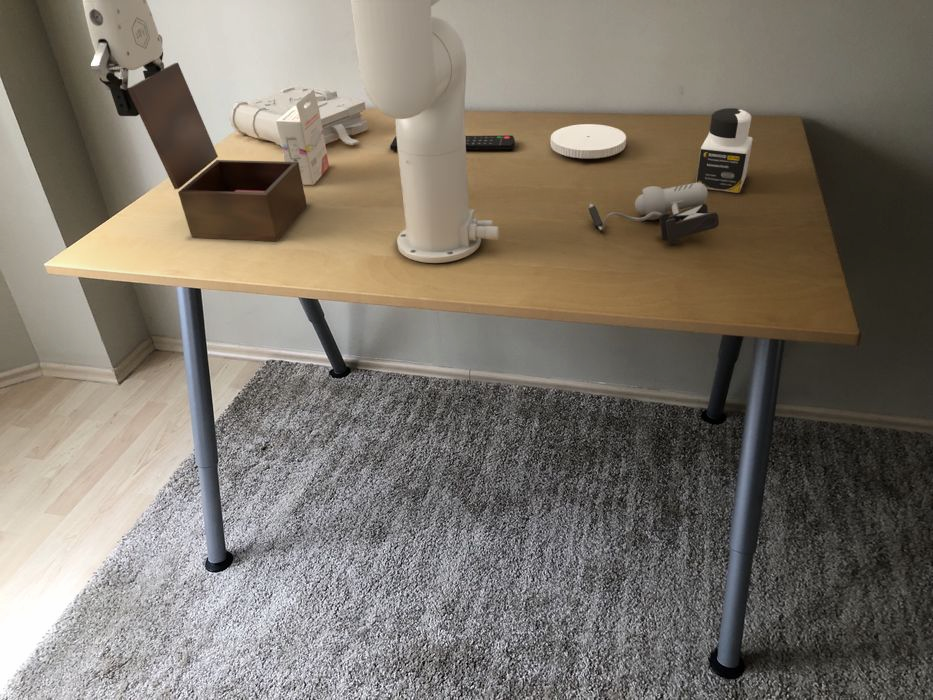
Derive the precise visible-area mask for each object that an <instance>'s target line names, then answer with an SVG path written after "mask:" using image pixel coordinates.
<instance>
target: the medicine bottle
mask: <svg viewBox="0 0 933 700" xmlns="http://www.w3.org/2000/svg"><path fill="white" fill-rule="evenodd" d="M751 123H752V115H751V114H750V113H749V112H748V111H746V110H744V109H741V108H736V107H726V108H721V109H718V110H716V111H714V112H713V113H712V114H711V118H710V123H709V124H710V125H709V131H708V134H707V136H706V138H705V139H704V142H703V143H702V145H701V147H700V151H699V160H698V165H697V173H696V179H695V183H697V182H699V183H702V184H703V185H705V187H706V188H707V190H710V191H718V192H725V193H734V194H739V193H740V192H741V190H742V187H743V184H744V183H745V180H746V177H747V173H748V167H749V162H750V157H751V151H752V146H753V140H754V138H753V137H752V136H749V133H750V128H751Z"/></svg>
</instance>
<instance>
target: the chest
mask: <svg viewBox="0 0 933 700" xmlns="http://www.w3.org/2000/svg"><path fill="white" fill-rule="evenodd" d="M236 190H251V191H265V192H264V193H255V192H234V191H236ZM177 193H178V194H177V195H178V197H179V200H180V203H181V204H180V205H181V208H182V210H183V213H184V217H185V220H186V223H187V227H188V230H189V234H190V236H191V238H195V239H215V240H217V239H218V240H236V241H237V240H238V241H257V242H258V241H261V242H278V241H279V240H280V238H281V237H282V236H283V235H284V233H285V232H287V230H288V229H289V227H290V226H291V225H292V224H293V223H294V222H295V221H296V219H297V218H298V217H299V216H300V215H301V214H302V212H303V211H304V210H305V208H306V207H307V205H308V203H307V199H306V193H305V189H304V185H303V183H302V178H301V173H300V167H299V162H285V161H278V160H277V161H273V160H272V161H271V160H238V159H237V160H233V159H215V160H214V161H213V163H210V164H209V165H208V166H207V167H206V168H204V169H203V170H202V172H200V173H198V174H197V176H196V177H195V178H192V179H191V181H190V182H187V183H186V184H185V185H184V187H183V188H182V187H181V188H180V190H178V192H177Z"/></svg>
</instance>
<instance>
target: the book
mask: <svg viewBox="0 0 933 700" xmlns="http://www.w3.org/2000/svg"><path fill="white" fill-rule="evenodd" d="M312 90H314V92H315V96H316V99H317V103H318V106H319V111H320V117H321V123H322V129H323V134H324V140H325V145H327V144H329V143H332V142H334V141H338V140H340V141H341V142H343V144H346V145H350V146H353V145H357V144H358V143H360V141H359V140H358V139H354V138H351V137H350V136H354V135H357V134H360V133H362V132H365V131H367V130H369V125H368V121H367V120H365V119H362V117H363V115H361V113H362V112H364V111H365V110H366V102H365V101H363V100H360V99H356V98H355V99H354V98H344V97H341V96H338V93H337V92H338V91H336V90H333V89H328V88H325V87H320V86H314V87H311V88H308V87H305V86H301V85H296V84H295V85H291V86H288V87H286V88H282V89H280V90H278V92H275V93H272V94H270V95H266V96H263V97H260V98H257V99H255V100H251V101H243V100H242V101H237V102H235V103H234V104H233V106H232V107H231V108H230V112H229V113H230V114H229V121H230V125H231V127H232V128H233V130H235V132H236V133H238V134H242V135H245V136H249V137H252V138H255V139H259V140H262V141H268V142H269V141H270V142H273V143H275V145H277V146H281V142H280V138H279V133H278V129H277V124H276V121H277V120H278V119H279V118H280V117H282V116H283V115H284V114H285V113H287V112H288V111H289V110H290V109H291V108H292V107H294V106H296V103H297V102H298V101H299V100H301V99H302V98H303V97H304V96H305V95H306V94H308V93H309V92H310V91H312ZM309 104H310V101H308V102H307V101H306V104H304V106H308V105H309Z"/></svg>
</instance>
